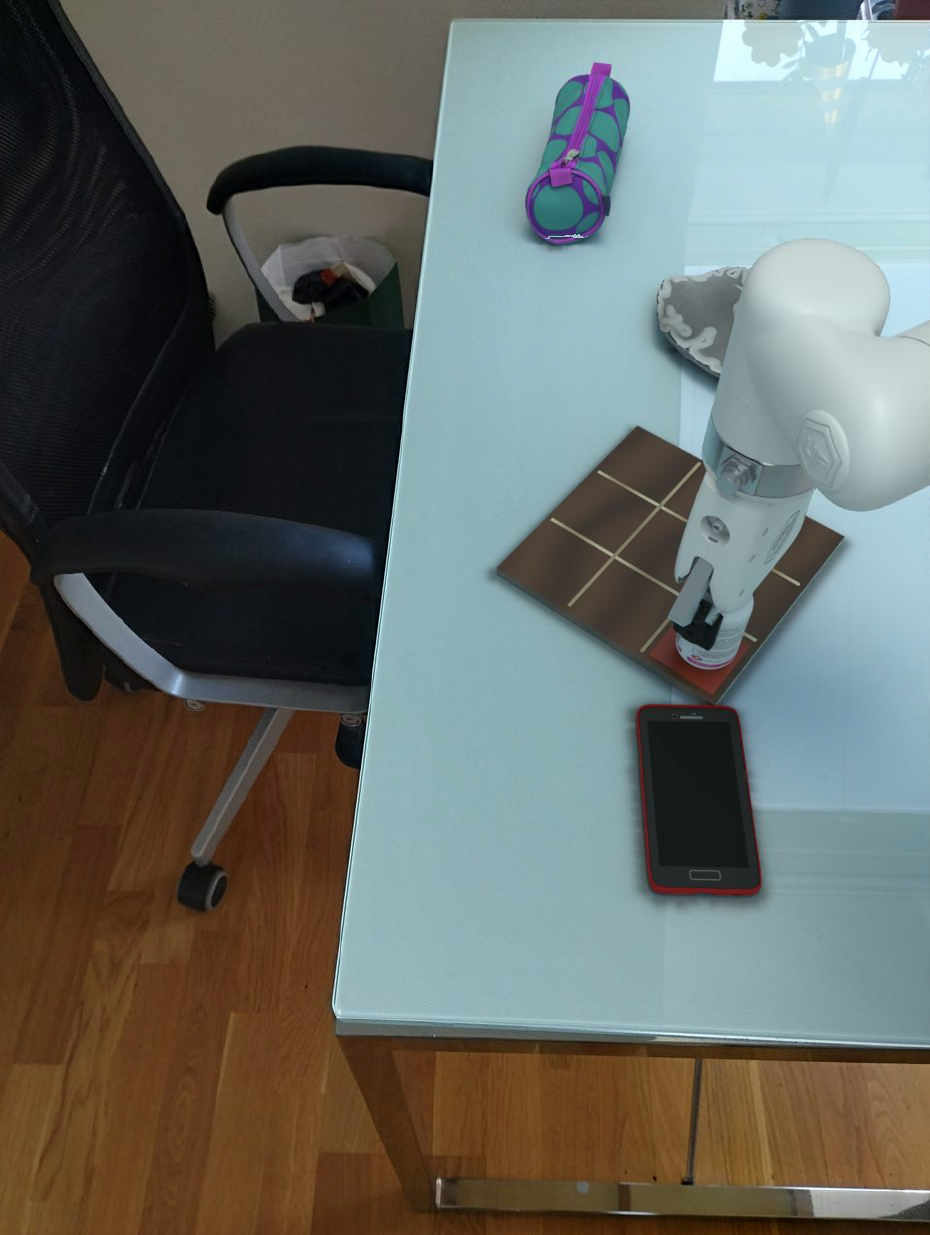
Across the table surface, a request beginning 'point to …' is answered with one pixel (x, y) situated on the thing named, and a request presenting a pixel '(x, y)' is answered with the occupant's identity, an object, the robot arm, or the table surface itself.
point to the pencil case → (579, 157)
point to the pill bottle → (718, 638)
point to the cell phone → (696, 801)
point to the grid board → (648, 563)
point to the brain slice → (701, 314)
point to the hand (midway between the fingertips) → (713, 612)
